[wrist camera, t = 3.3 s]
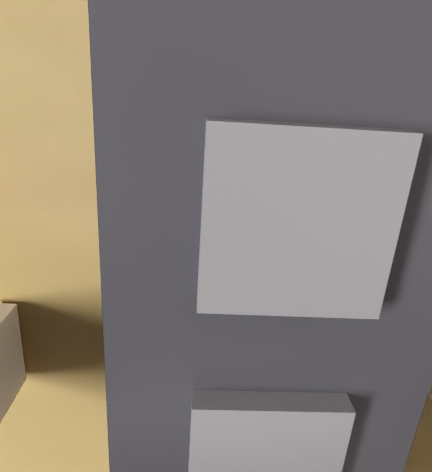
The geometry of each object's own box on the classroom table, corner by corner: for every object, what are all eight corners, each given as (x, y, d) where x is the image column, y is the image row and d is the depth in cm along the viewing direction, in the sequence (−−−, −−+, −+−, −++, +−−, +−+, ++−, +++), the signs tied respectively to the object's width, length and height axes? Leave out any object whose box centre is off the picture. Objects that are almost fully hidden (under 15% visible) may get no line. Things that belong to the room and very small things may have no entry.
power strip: (152, -91, 9) (42, -475, 3) (375, -72, 9) (734, -378, 3) (150, 556, 17) (120, 832, 11) (269, 556, 17) (307, 825, 11)
